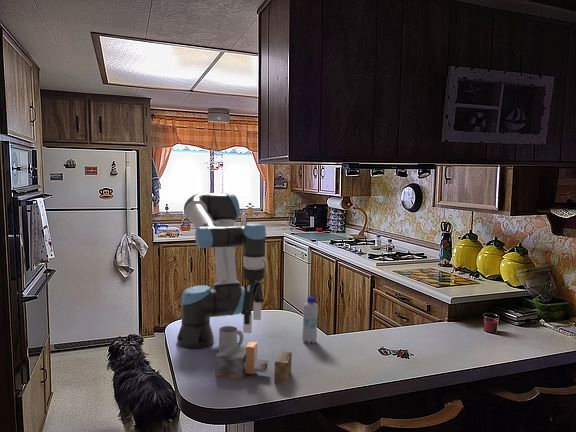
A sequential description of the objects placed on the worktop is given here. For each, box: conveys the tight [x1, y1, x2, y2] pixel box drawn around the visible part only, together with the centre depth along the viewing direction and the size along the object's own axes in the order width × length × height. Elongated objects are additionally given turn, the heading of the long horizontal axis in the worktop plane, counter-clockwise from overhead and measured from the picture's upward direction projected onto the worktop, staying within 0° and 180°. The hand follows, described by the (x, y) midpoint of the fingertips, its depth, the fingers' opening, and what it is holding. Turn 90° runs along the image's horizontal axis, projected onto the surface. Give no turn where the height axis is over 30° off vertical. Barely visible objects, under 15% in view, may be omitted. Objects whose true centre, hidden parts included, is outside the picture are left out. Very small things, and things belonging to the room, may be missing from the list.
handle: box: [244, 341, 270, 375], centre depth 156 cm, size 18×5×10 cm, turn 80°
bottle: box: [302, 296, 319, 345], centre depth 187 cm, size 7×7×20 cm
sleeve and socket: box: [214, 346, 293, 385], centre depth 156 cm, size 26×9×8 cm, turn 80°
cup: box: [218, 325, 244, 352], centre depth 175 cm, size 7×10×9 cm
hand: (252, 325), depth 154 cm, fingers open, 13 cm apart
